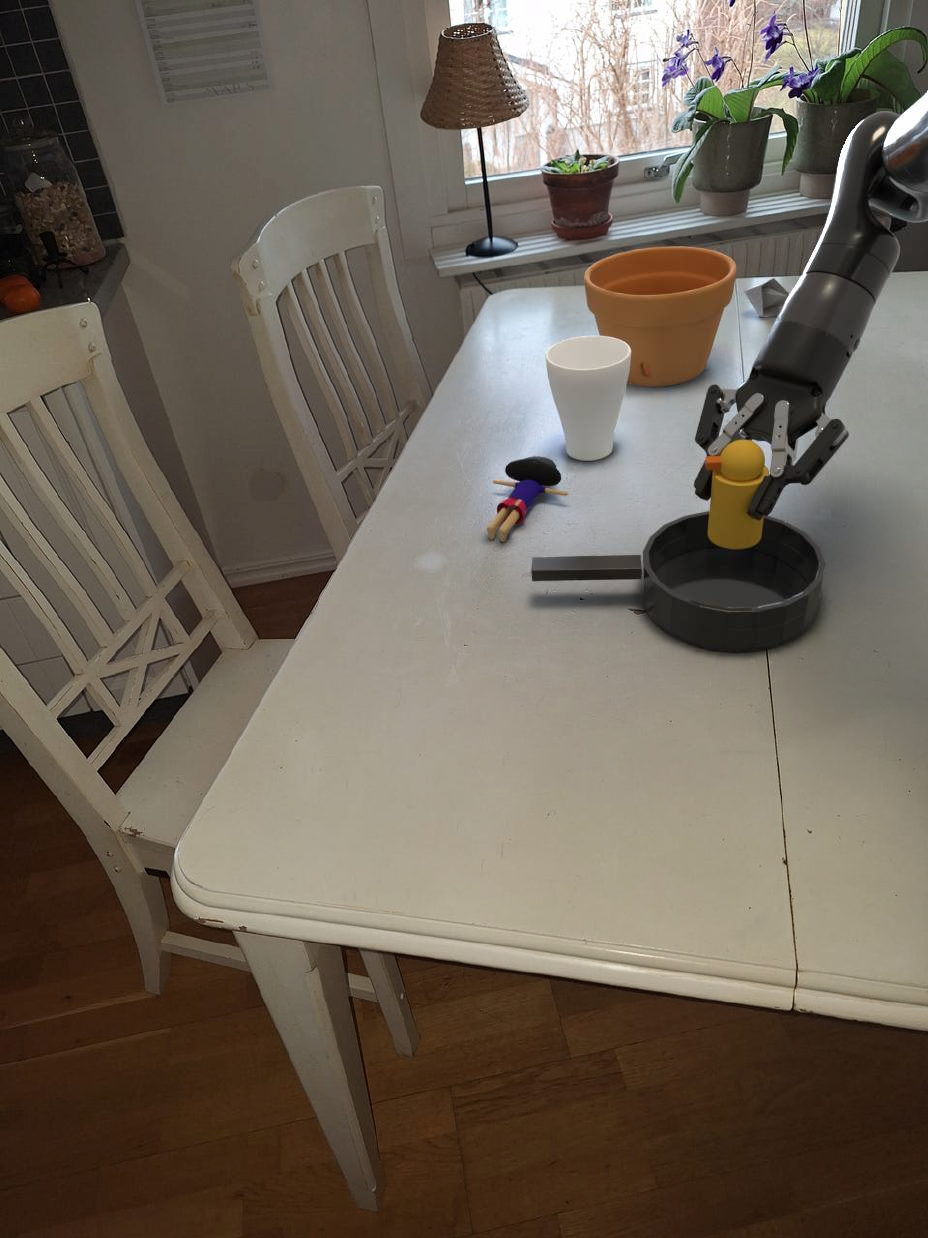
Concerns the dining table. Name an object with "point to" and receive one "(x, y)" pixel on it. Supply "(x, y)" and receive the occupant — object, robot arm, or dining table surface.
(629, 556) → the pan handle
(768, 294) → the paper boat
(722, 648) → the pan
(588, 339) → the cup
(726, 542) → the yellow duck figurine
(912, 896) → the dining table surface
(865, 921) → the dining table surface
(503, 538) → the toy
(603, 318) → the flower pot
